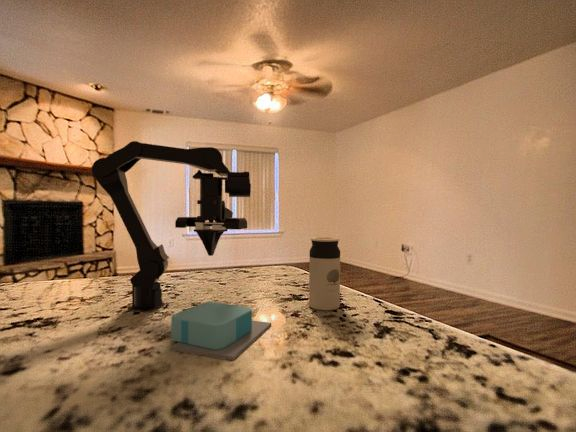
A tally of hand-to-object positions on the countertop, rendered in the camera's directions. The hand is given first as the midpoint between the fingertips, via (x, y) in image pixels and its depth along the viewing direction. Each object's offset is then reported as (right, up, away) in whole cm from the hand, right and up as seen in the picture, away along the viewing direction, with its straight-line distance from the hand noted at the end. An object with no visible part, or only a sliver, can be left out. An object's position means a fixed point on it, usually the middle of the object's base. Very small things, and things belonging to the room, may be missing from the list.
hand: (210, 255), depth 90 cm
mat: (+8, -14, -22) cm, 27 cm away
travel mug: (+30, -14, -1) cm, 33 cm away
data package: (0, -11, -20) cm, 23 cm away
